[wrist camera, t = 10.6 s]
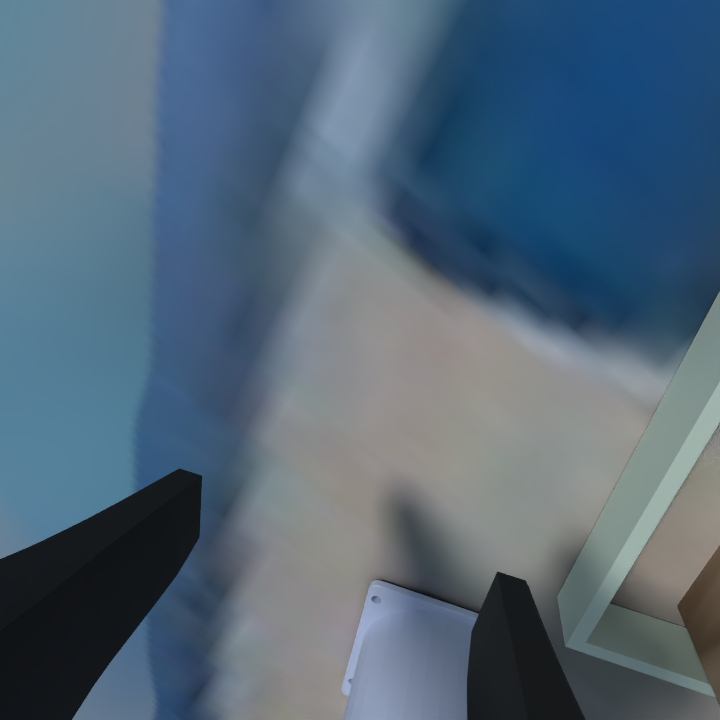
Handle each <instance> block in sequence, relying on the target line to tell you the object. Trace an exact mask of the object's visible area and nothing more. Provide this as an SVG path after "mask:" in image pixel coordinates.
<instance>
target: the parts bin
mask: <svg viewBox="0 0 720 720" xmlns="http://www.w3.org/2000/svg"><path fill="white" fill-rule="evenodd" d="M719 423H720V292H719V293H718V295H717V297H716V299H715V301H714V303H713V305H712V307H711V308H710V310H709V312H708V314H707V316H706V318H705V320H704V322H703V324H702V325H701V327H700V329H699V331H698V333H697V335H696V337H695V339H694V340H693V342H692V344H691V346H690V348H689V350H688V352H687V354H686V355H685V357H684V359H683V361H682V363H681V365H680V367H679V369H678V370H677V372H676V374H675V376H674V378H673V380H672V382H671V384H670V385H669V387H668V389H667V391H666V393H665V395H664V397H663V399H662V400H661V402H660V404H659V406H658V408H657V410H656V412H655V414H654V416H653V417H652V419H651V421H650V423H649V425H648V427H647V429H646V431H645V432H644V434H643V436H642V438H641V440H640V442H639V444H638V446H637V447H636V449H635V451H634V453H633V455H632V457H631V459H630V461H629V462H628V464H627V466H626V468H625V470H624V472H623V474H622V476H621V477H620V479H619V481H618V483H617V485H616V487H615V489H614V491H613V492H612V494H611V496H610V498H609V500H608V502H607V504H606V506H605V507H604V509H603V511H602V513H601V515H600V517H599V519H598V521H597V523H596V524H595V526H594V528H593V530H592V532H591V534H590V536H589V538H588V539H587V541H586V543H585V545H584V547H583V549H582V551H581V553H580V554H579V556H578V558H577V560H576V562H575V564H574V566H573V568H572V569H571V571H570V573H569V575H568V577H567V579H566V581H565V583H564V584H563V586H562V588H561V590H560V592H559V594H558V596H557V599H558V606H559V612H560V618H561V624H562V630H563V636H564V643H565V647H568V648H571V649H573V650H576V651H579V652H582V653H585V654H588V655H591V656H594V657H597V658H600V659H603V660H606V661H609V662H612V663H615V664H618V665H621V666H624V667H626V668H629V669H632V670H635V671H638V672H641V673H644V674H647V675H650V676H653V677H656V678H659V679H662V680H665V681H668V682H671V683H674V684H677V685H680V686H682V687H685V688H688V689H691V690H694V691H697V692H700V693H703V694H706V695H709V696H712V697H715V698H716V696H715V694H714V692H713V689H712V687H711V685H710V682H709V680H708V677H707V675H706V673H705V670H704V668H703V666H702V663H701V661H700V659H699V656H698V654H697V652H696V649H695V647H694V644H693V642H692V640H691V637H690V635H689V633H688V630H687V628H685V627H682V626H679V625H675V624H672V623H669V622H666V621H663V620H660V619H657V618H654V617H651V616H648V615H644V614H641V613H638V612H635V611H632V610H629V609H626V608H623V607H620V606H617V605H613V604H610V601H611V600H612V598H613V597H614V595H615V593H616V592H617V590H618V588H619V587H620V585H621V583H622V582H623V580H624V578H625V577H626V575H627V574H628V572H629V570H630V569H631V567H632V565H633V564H634V562H635V560H636V559H637V557H638V556H639V554H640V552H641V551H642V549H643V547H644V546H645V544H646V542H647V541H648V539H649V537H650V536H651V534H652V533H653V531H654V529H655V528H656V526H657V524H658V523H659V521H660V519H661V518H662V516H663V514H664V513H665V511H666V510H667V508H668V506H669V505H670V503H671V501H672V500H673V498H674V496H675V495H676V493H677V492H678V490H679V488H680V487H681V485H682V483H683V482H684V480H685V478H686V477H687V475H688V473H689V472H690V470H691V469H692V467H693V465H694V464H695V462H696V460H697V459H698V457H699V455H700V454H701V452H702V450H703V449H704V447H705V446H706V444H707V442H708V441H709V439H710V437H711V436H712V434H713V432H714V431H715V429H716V427H717V426H718V424H719Z"/></svg>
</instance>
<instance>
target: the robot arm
mask: <svg viewBox="0 0 720 720" xmlns="http://www.w3.org/2000/svg"><path fill="white" fill-rule="evenodd" d="M201 487H202V476H201V475H198V474H195V473H192V472H188V471H185V470H182V469H178V470H176V471H174V472H172V473H170V474H169V475H167V476H165V477H163V478H161V479H159V480H158V481H156V482H154V483H152V484H150V485H149V486H147V487H145V488H143V489H141V490H140V491H138V492H136V493H134V494H132V495H131V496H129V497H127V498H125V499H123V500H122V501H120V502H118V503H116V504H114V505H112V506H110V507H109V508H107V509H105V510H103V511H101V512H99V513H97V514H96V515H94V516H92V517H90V518H88V519H86V520H84V521H82V522H80V523H78V524H76V525H74V526H72V527H70V528H68V529H66V530H64V531H62V532H60V533H58V534H56V535H54V536H52V537H49V538H47V539H45V540H43V541H41V542H39V543H37V544H35V545H32V546H30V547H28V548H26V549H23V550H21V551H19V552H16V553H14V554H12V555H9V556H7V557H5V558H2V559H0V720H72V718H73V717H74V715H75V714H76V712H77V711H78V709H79V708H80V706H81V704H82V703H83V701H84V700H85V698H86V697H87V695H88V693H89V692H90V691H91V689H92V687H93V686H94V684H95V683H96V682H97V680H98V679H99V677H100V676H101V674H102V673H103V672H104V670H105V669H106V668H107V666H108V665H109V663H110V662H111V661H112V659H113V658H114V657H115V655H116V654H117V653H118V652H119V650H120V649H121V647H122V646H123V645H124V644H125V642H126V641H127V640H128V639H129V637H130V636H131V635H132V633H133V632H134V631H135V629H136V628H137V627H138V626H139V624H140V623H141V622H142V620H143V619H144V618H145V616H146V615H147V614H148V613H149V611H150V610H151V609H152V607H153V606H154V605H155V603H156V602H157V601H158V599H159V598H160V597H161V596H162V594H163V593H164V592H165V590H166V589H167V588H168V586H169V585H170V584H171V582H172V581H173V580H174V578H175V577H176V575H177V574H178V572H179V571H180V569H181V567H182V566H183V564H184V562H185V561H186V559H187V558H188V556H189V554H190V552H191V551H192V549H193V547H194V546H195V544H196V542H197V540H198V539H199V534H200V510H201ZM376 596H378V597H376ZM342 692H343V693H344V694H345V695H346V696H348V701H347V705H346V709H345V713H344V717H343V720H585V718H584V716H583V713H582V711H581V709H580V707H579V705H578V703H577V701H576V699H575V697H574V695H573V692H572V690H571V688H570V686H569V683H568V681H567V679H566V677H565V675H564V672H563V670H562V668H561V666H560V664H559V661H558V659H557V657H556V654H555V652H554V650H553V647H552V645H551V642H550V640H549V638H548V635H547V633H546V630H545V628H544V625H543V623H542V620H541V618H540V615H539V613H538V610H537V608H536V605H535V602H534V600H533V597H532V594H531V592H530V589H529V586H528V585H527V583H526V581H525V580H522V579H519V578H516V577H513V576H510V575H506V574H503V573H500V572H497V574H496V576H495V578H494V581H493V583H492V585H491V588H490V590H489V592H488V594H487V597H486V599H485V601H484V604H483V606H482V608H481V610H480V613H479V614H478V613H475V612H472V611H469V610H467V609H464V608H461V607H458V606H455V605H452V604H449V603H446V602H443V601H440V600H437V599H434V598H431V597H428V596H425V595H422V594H419V593H416V592H413V591H410V590H407V589H404V588H402V587H399V586H396V585H393V584H390V583H387V582H384V581H380V580H375V581H372V582H371V584H370V587H369V590H368V594H367V598H366V601H365V605H364V608H363V612H362V616H361V619H360V623H359V627H358V630H357V634H356V638H355V641H354V645H353V649H352V652H351V656H350V660H349V663H348V667H347V670H346V674H345V678H344V681H343V685H342Z"/></svg>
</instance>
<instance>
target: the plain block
mask: <svg viewBox="0 0 720 720" xmlns="http://www.w3.org/2000/svg"><path fill="white" fill-rule="evenodd" d="M677 607H678V609H679V611H680V614H681V616H682V619H683V621H684V623H685V626H686V628H687V630H688V633H689V635H690V637H691V640H692V642H693V644H694V647H695V649H696V652H697V654H698V656H699V659H700V661H701V663H702V666H703V668H704V670H705V673H706V675H707V677H708V680H709V682H710V685H711V687H712V689H713V692H714V694H715V696H716V699H717V701H718V703H719V706H720V546H719V547H718V549H717V550H716V551H715V553H714V554H713V556H712V557H711V559H710V560H709V561H708V563H707V564H706V566H705V567H704V569H703V570H702V571H701V573H700V574H699V576H698V577H697V578H696V580H695V581H694V583H693V584H692V586H691V587H690V588H689V590H688V591H687V593H686V594H685V596H684V597H683V598H682V600H681V601H680V603H679V604H678V606H677Z"/></svg>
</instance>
